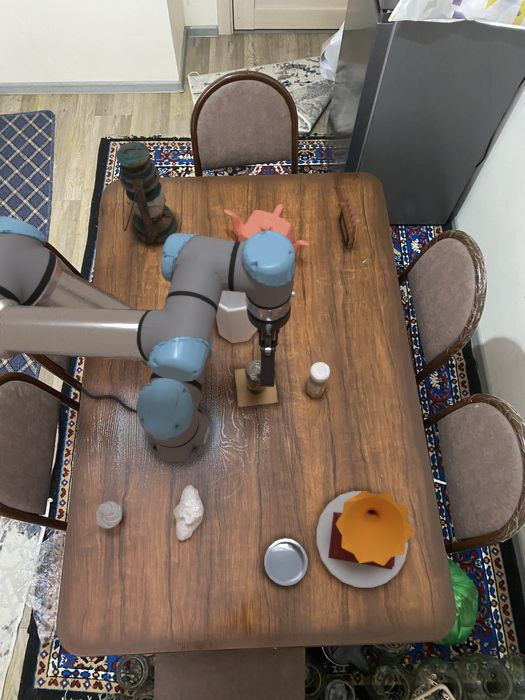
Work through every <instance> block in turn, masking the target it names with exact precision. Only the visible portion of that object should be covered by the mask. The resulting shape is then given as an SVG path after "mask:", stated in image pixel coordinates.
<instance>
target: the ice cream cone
mask: <svg viewBox="0 0 525 700" xmlns="http://www.w3.org/2000/svg"><path fill="white" fill-rule="evenodd" d="M95 512H96V514H95V517H94V518H95V522H96V524H97V525H98V526H99V527H102V528H103V529H113V528H114V527H116V526H117V525H118V524H119V523H120V522H121V521H122V519H123V518H122V517H123V511H122V507H121V505H119V504H117V503H116V502H115V501H112V500H111V501H109V500H106V502H104V503H102V504H100V505H99V506H98V508H97V509H96V511H95Z"/></svg>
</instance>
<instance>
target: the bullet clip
mask: <svg viewBox="0 0 525 700" xmlns="http://www.w3.org/2000/svg"><path fill="white" fill-rule="evenodd" d="M338 222H339V226H340V231H341V235H342V239H343V243H344V248H345V250H353V247H354V244H355V240H356V236H355V235H356V232H357V225H358V224H357V220H356V215H355V212H354V209H353V204H352V199H351V196H350V193H348V194H347V195H346V197H345V200H344V202H343V204H342V208H341V209H340V212H339V217H338Z"/></svg>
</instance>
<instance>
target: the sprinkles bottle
mask: <svg viewBox="0 0 525 700" xmlns="http://www.w3.org/2000/svg"><path fill="white" fill-rule="evenodd" d="M330 376H331V369H330V367H329V365H328V364H327V363H326V362H322V361H318V362H315V363H313V364H312V365H311V367H310V369H309V376H308V380H307V384H306V389H305V390H306V393H307V395H309V396H310V397H311V398H320V397H321V396H322V395H323V394H324V392H325V388H326V386H327V382H328V379H329V378H330Z"/></svg>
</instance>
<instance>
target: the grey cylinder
mask: <svg viewBox="0 0 525 700" xmlns="http://www.w3.org/2000/svg"><path fill="white" fill-rule="evenodd" d="M263 558H264V559H263V566H264V570H265V573H266V575H267V576H268V578H269V579H271V580H272V581H273V582H274V583H275V584H276V585H277V584H278V585H280V586H286V587H287V586H292V585H296V584H297V583H298V582H300V581H301V580H302V579H303V578H304V576H305V575H306V573H307V570H308V565H309V564H308V561H309V559H308V556H307V553H306V550H305V549H304V548H303V546H302V545H301V544H300V543H299V542H298V541H296V540H294V539H291V538H279V539H277V540H276V541H274V542H272V543H271V544H270V545H269V546H268V548H267V549H266V552H265V555H264V557H263Z"/></svg>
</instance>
